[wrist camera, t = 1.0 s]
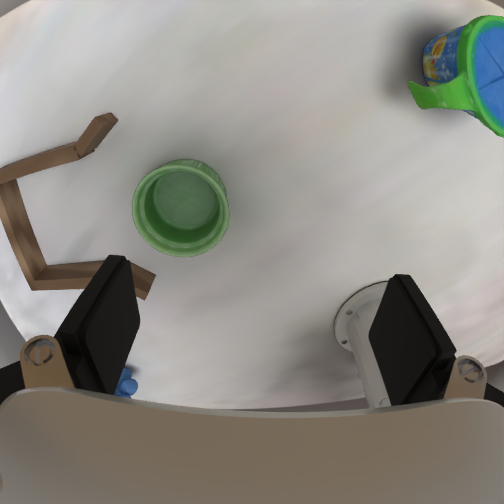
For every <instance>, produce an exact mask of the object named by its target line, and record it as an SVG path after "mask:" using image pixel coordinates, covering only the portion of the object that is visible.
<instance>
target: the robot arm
mask: <svg viewBox="0 0 504 504" xmlns="http://www.w3.org/2000/svg"><path fill="white" fill-rule="evenodd" d="M139 326H140V315H139V310H138V304H137V299H136V293H135V287H134V281H133V275H132V269H131V263H130V261H129V260H126V258H125V256H119V255H109V256H108V257H107V258H106V260H105V261H104V262H103V264H102V265H101V266H100V268H99V269H98V271H97V272H96V274H95V275H94V276H93V278H92V279H91V281H90V282H89V284H88V285H87V287H86V288H85V289H84V291H83V292H82V293H81V295H80V296H79V298H78V299H77V301H76V302H75V304H74V305H73V307H72V308H71V310H70V311H69V313H68V315H67V316H66V318H65V319H64V321H63V323H62V324H61V326H60V327H59V329H58V331H57V332H56V334H55V336H54V337H52V336H49V335H39V336H35V337H33V338H31V339H30V340H28V341H27V342H26V343H25V344H24V345H23V347H22V349H21V351H20V361H18V362H15V363H13V364H10V365H8V366H6V367H3V368H1V369H0V504H504V393H503V392H502V391H500V390H498V389H497V388H495V387H493V386H491V385H490V384H488V383H486V381H487V373H486V370H485V368H484V366H483V365H482V364H481V363H480V362H479V361H478V360H477V359H475V358H473V357H471V356H465V355H463V356H459V357H458V358H457V359H456V357H455V355H454V354H455V353H456V351H457V350H456V348H455V346H454V345H453V343H452V341H451V339H450V338H449V336H448V334H447V332H446V331H445V329H444V327H443V326H442V324H441V322H440V321H439V319H438V318H437V316H436V314H435V313H434V311H433V309H432V308H431V306H430V305H429V303H428V302H427V300H426V298H425V297H424V295H423V294H422V292H421V291H420V289H419V288H418V286H417V285H416V283H415V282H414V280H413V279H412V277H411V276H410V275H404V274H395V275H394V276H393V278H390V279H389V281H388V282H383V283H379V284H375V285H372V286H370V287H367V288H365V289H363V290H362V291H360V292H358V293H357V294H355V295H354V296H353V297H351V298H350V299H349V300H348V301H347V302H346V303H345V304H344V305H343V307H342V308H341V310H340V311H339V313H338V315H337V317H336V320H335V324H334V332H335V335H336V339H337V341H338V343H339V344H340V345H341V346H342V347H343V348H344V349H346V350H347V351H350V352H353V354H354V358H355V361H356V364H357V368H358V371H359V373H358V377H359V378H360V379H361V381H362V385H363V388H364V392H365V395H366V398H367V402H368V406H369V409H358V410H346V411H326V412H249V411H231V410H217V409H205V408H195V407H186V406H178V405H170V404H163V403H156V402H150V401H143V400H137V399H131V398H125V397H119V396H114V394H115V391H116V388H117V385H118V382H119V379H120V377H121V374H122V371H123V368H124V366H125V363H126V360H127V358H128V355H129V352H130V350H131V347H132V344H133V342H134V339H135V337H136V334H137V331H138V329H139Z"/></svg>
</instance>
